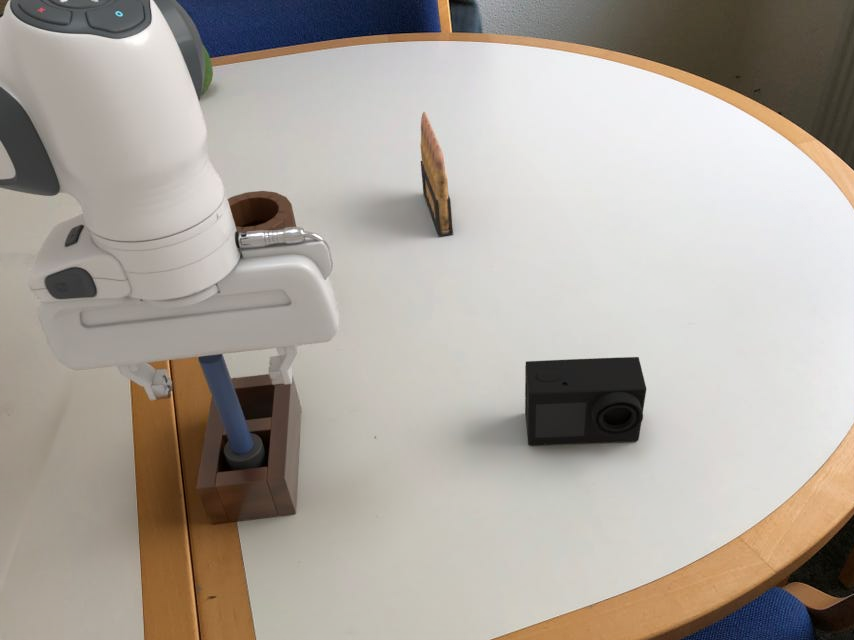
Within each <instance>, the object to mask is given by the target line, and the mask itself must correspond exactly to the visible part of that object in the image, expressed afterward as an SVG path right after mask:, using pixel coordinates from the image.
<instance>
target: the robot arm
mask: <svg viewBox="0 0 854 640" xmlns="http://www.w3.org/2000/svg"><path fill="white" fill-rule="evenodd" d="M202 44H203V42H202V38H201V35H200V33H199V30H198V28H197V26H196V24H195V23H194V21H193V19H192V18H191V16H190V15H189V14H188V13H187V11H186V9H184V7H183V6H182V4H180V3H179V2H178V1H177V0H8V1H7V3H6V5H5V6H4V10H3V15H2V16H0V188H1V189H5V190H9V191H14V192H19V193H24V194H30V195H34V196H35V195H36V196H45V197H55V196H57V195H58V194H67V195H69V196H71V197H72V198H74V199H75V200H76V201H77V202H78V204H79V205H80V208H81V211H82V214H81V213H80V214H78V215H76V216H74V217H72V218H69V219H66V220H64V221H62V222H60V223H57V224H55V226H53V227H52V228H51V230H50V232H49V233H48V234H47V236H46V238H45V239H44V240H43V243H42V244H41V245H40V247H39V250H37V253H36V256H35V258H34V260H33V263H32V265H31V268H30V270H29V275H28V278H27V285H28V287H29V289H30V291H31V293H32V294H33V296H34V297H35V298H36V299H37V300H39V301H40V303H39V305H38V309H37V318H38V321H39V324H40V327H41V330H42V332H43V335H44V337H45V340H46V342H47V344H48V346H49V348H50V350H51V352H52V354H53V356H54V357H55V359H56V360H57V361H58V363H60V364H62V365H64V366H65V367H67V368H69V369H71V370H74V371H87V370H94V369H103V368H112V367H117V369H118V371H119V373H120V375H122V376H123V377H125V378H127V379H129V380H130V381H132V382H133V383H135V384H137V385H138V386H139V387H143V389H144V391H145V394H146V395H147V397H148V400H149V401H155V400H156V401H157V400H165V399H170V398H171V396H172V394H171V392H173V381H172V379H171V378H170V374H169V371H168V369H167V368H162V369H161V368H159V369H156V368H154V366H152V365H151V364H149V363H155V362H156V363H157V362H164V361H165V362H166V361H174V360H182V359H192V358H198V357H201V356H209V355H218V354H223V355H226V354H235V353H244V352H252V351H253V352H254V351H261V350H270V349H276V351H277V355H275V356H274V355H273V356H269V360H268V361H269V366H268V371H267V374H269V376H270V378H271V379H272V382H271V383H272V385H273V386H276V385H286V384H292V375H293V367H292V365H293V362H294V360H295V359H296V356H297V354H298V346H305V345H312V344H313V345H315V344H323V343H328V342H330V341H332V339H333V338H334V337H336V334H337V333H338V332H339V329H340V306H339V301H338V297H337V294H336V289H335V287H334V284H333V281H332V278H331V276H330V275H331V273H332V271H333V268H334V262H333V259H332V258H333V257H332V253H331V247H330V245H329V244H328V242H327V239H325V238H324V237H322V236H321V235H319V234H318V233H315V232H312V231H305V229H304V227H303V226H296V227H288V228H284V229H282V230H258V231H248V232H239V233H238V232H237V229H236V226H235V222H234V219H233V216H232V212H231V209H230V206H229V202H228V199H229V198H228V196H227V192H226V189H225V186H224V185H225V184H224V183H223V180H222V178H221V176H220V175H219V173H218V172H217V170H216V169H215V167H214V166H213V164H212V162H211V160H210V157H209V154H208V153H209V152H208V129H207V125H206V121H205V117H204V113H203V109H202V107H201V104H200V100H201V97H202V94H203V93H202V89H203V84H204V76H205V57H204V50H203V45H204V44H203V45H202Z"/></svg>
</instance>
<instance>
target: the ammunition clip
mask: <svg viewBox="0 0 854 640" xmlns="http://www.w3.org/2000/svg"><path fill="white" fill-rule="evenodd" d="M420 154H421V156H420V157H421V160H420V171H421V179H422V180H421V183H422V193H423V197H424V200H425V203H426V205H427V209H428V211H429V214H430V217H431V220H432V223H433V225H434V228H435V232H436V234H437V237H438V238H441V237H447V236H453V235H454V229H453V217H452V202H451V198H450V197H451V196H450V195H449V185H448V176H447V172H446V166H445V159H444V154H443V151H442V148H441V146H440V144H439V141H438V138H437V137H436V134H435V132H434V128H433V127H432V125H431V122H430V120H429V117H428V115H427V113H426V112H425V111H422V114H421V118H420Z"/></svg>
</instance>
